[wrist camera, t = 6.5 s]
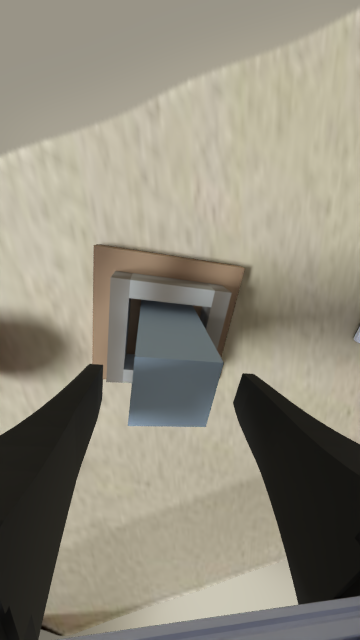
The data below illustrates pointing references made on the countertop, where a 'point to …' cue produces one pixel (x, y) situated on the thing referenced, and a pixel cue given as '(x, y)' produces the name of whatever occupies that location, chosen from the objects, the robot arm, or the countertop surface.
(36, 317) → the countertop surface
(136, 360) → the peg
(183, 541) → the countertop surface
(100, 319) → the socket board
